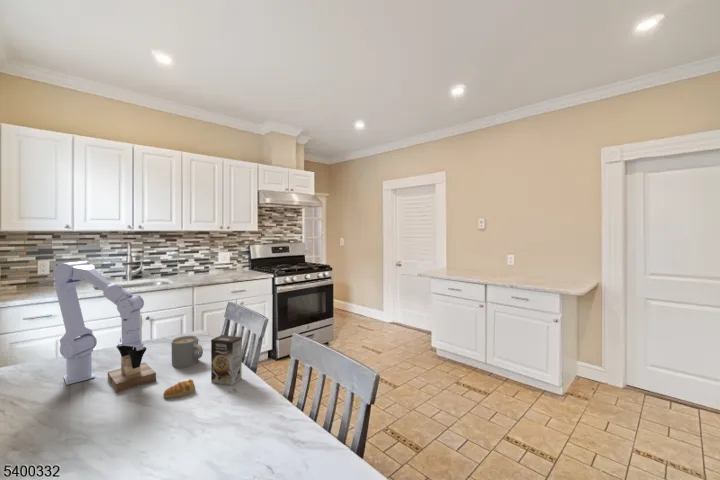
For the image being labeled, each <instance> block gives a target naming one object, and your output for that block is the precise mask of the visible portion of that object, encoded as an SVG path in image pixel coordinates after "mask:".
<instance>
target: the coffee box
mask: <svg viewBox="0 0 720 480" xmlns="http://www.w3.org/2000/svg"><path fill="white" fill-rule="evenodd" d="M210 340H211V342H210V347H211V348H210V350H211V351H210V353H211V354H210V357H211V358H210V360H211V361H210V362H211V364H210V365H211V366H210V368H211V369H210V370H211V372H210V374H211V375H210V377H211V380H210V381H211V384H212V383H213V384H220V385H226V386H233V385H235V384H236V383H238V382H239V381H240V380H241V379H242V377H243V376H242V373H243V372H242V369H243V368H242V366H243V365H242V364H243V363H242V361H243V358H242V357H243V356H242V354H243V349H242V348H243V336H234V335H225V334H221V335H218V336H216V337H214V338H212V339H210Z"/></svg>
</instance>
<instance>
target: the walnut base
mask: <svg viewBox="0 0 720 480" xmlns="http://www.w3.org/2000/svg"><path fill="white" fill-rule="evenodd" d="M107 380H108V382H109V384H110V385H111V386H112V388H113V389H114V391H115V393H119V392H123V391H127V390H129V389H134V388H135V387H139V386H143V385H145V384H146V385H147V384H150V383H154V382H156V381H157V372H156V371H155V370H154V369H153V368H152V367H151V366H149V365H148V363H146V361H143V362H141V364H140V372H138V373H135V374H132V375H129V376H125V375H124V374H122V373H121V367H120V368H116V369H114V370H109V371H107Z"/></svg>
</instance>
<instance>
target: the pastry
mask: <svg viewBox="0 0 720 480" xmlns="http://www.w3.org/2000/svg"><path fill="white" fill-rule="evenodd" d="M195 391H196V386H195V382H194V380H193V379H188V380H183V381H179V382H177V384H175V385H171V386H170V387H169V388H167V389H165V390H164V392H163V397H164V398H166V399H169V400H170V399H175V398H181V397H184V396H189V395H191V394H194V393H195Z"/></svg>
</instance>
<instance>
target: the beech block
mask: <svg viewBox="0 0 720 480" xmlns="http://www.w3.org/2000/svg"><path fill="white" fill-rule="evenodd" d="M120 364H121V365H120V368H121V373H122V374H124V375H125V376H129V375H132V374H135V373H138V372H140V367H138V368H134V369H133V368H132V364H131V358H130V356H129V355H127V356H124V357H120Z"/></svg>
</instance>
